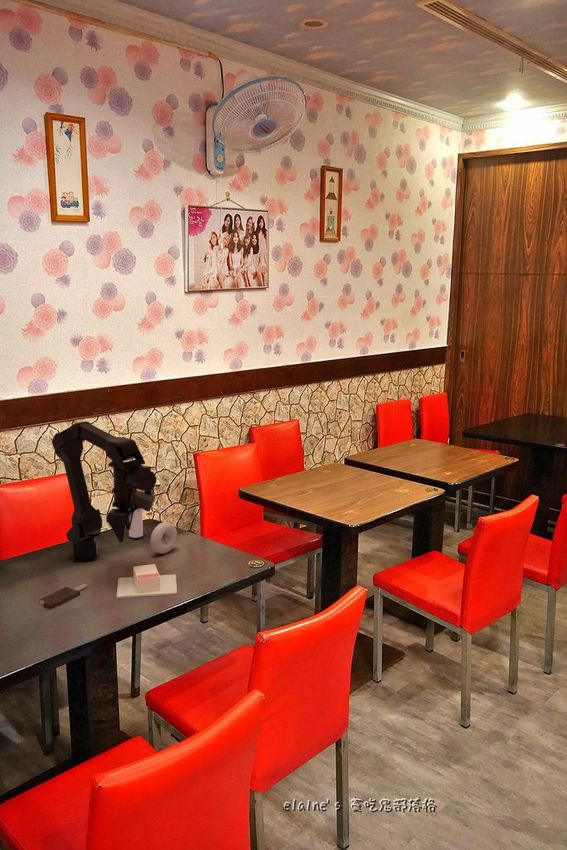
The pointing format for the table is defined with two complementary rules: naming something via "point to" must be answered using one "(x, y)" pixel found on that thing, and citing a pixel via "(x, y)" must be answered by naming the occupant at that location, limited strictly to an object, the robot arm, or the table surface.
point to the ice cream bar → (61, 596)
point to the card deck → (146, 578)
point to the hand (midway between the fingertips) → (124, 535)
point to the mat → (129, 590)
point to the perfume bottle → (137, 523)
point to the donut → (169, 541)
